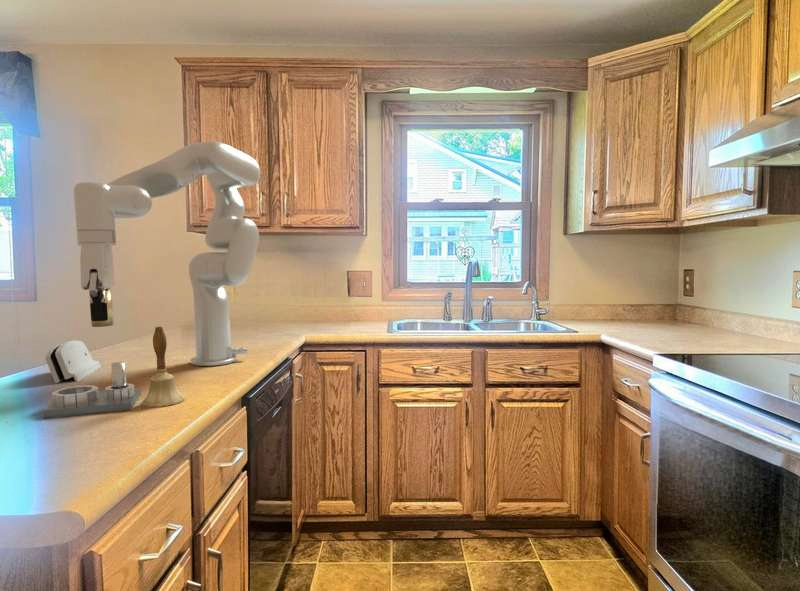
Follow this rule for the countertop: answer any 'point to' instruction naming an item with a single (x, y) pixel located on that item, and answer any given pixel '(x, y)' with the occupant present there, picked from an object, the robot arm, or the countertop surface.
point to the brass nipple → (109, 308)
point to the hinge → (70, 361)
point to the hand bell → (161, 377)
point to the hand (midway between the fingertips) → (102, 318)
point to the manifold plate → (93, 406)
